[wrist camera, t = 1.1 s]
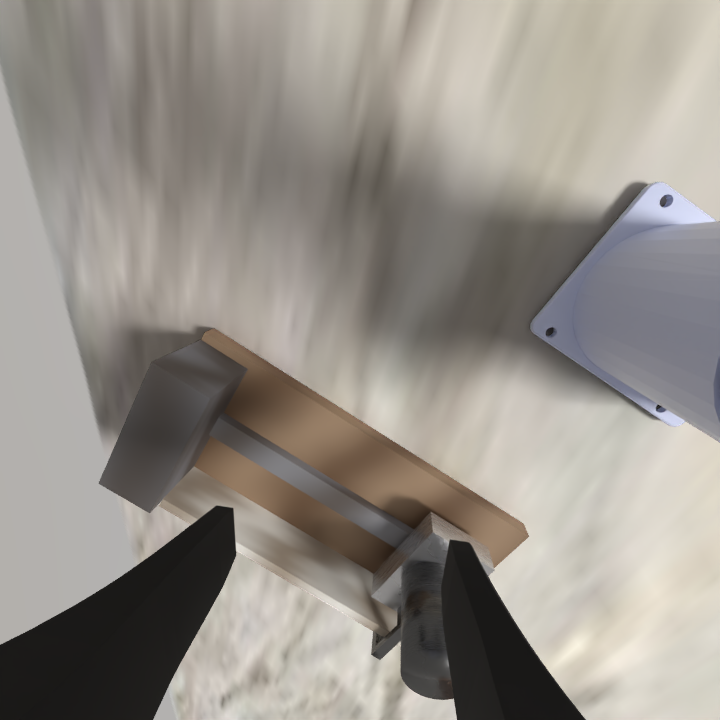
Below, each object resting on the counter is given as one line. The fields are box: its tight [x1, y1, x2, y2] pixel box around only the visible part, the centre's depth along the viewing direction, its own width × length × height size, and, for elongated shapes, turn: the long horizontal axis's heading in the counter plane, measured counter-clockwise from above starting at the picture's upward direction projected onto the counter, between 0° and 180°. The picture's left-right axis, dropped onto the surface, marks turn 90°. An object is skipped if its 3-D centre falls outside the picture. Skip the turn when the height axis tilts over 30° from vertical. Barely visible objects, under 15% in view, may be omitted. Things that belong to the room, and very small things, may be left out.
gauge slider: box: [371, 512, 495, 700], centre depth 19 cm, size 4×8×6 cm, turn 148°
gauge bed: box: [99, 329, 529, 646], centre depth 20 cm, size 22×9×5 cm, turn 58°
